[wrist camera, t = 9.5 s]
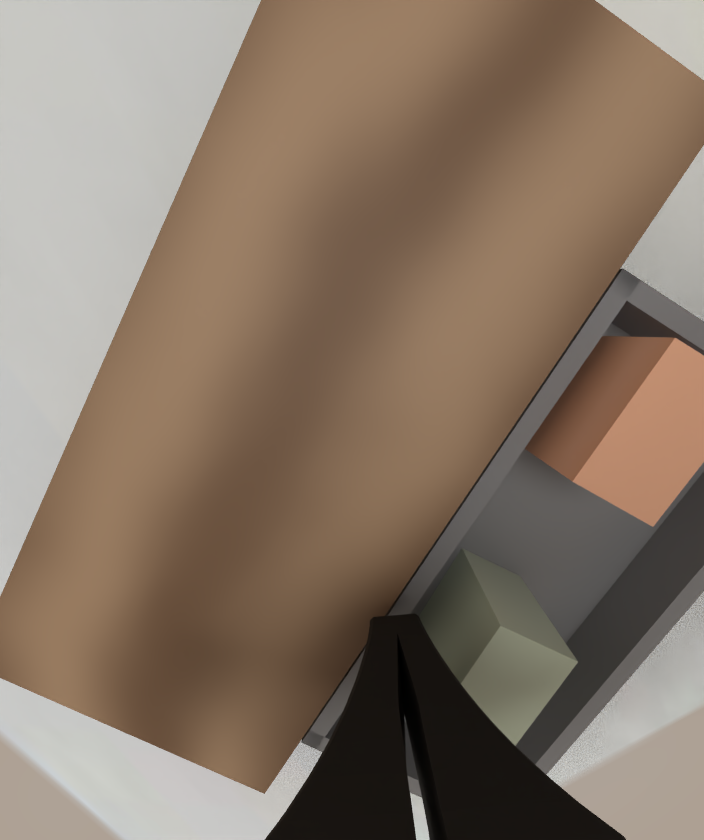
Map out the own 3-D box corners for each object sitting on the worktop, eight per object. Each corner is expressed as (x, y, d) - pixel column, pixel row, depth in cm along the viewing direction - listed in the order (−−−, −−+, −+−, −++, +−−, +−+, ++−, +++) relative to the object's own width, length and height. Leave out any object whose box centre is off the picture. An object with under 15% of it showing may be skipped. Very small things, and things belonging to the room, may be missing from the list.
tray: (765, 403, 14) (851, 418, 12) (476, 762, 17) (497, 832, 15) (573, 280, 13) (622, 268, 11) (309, 681, 17) (301, 742, 14)
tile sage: (461, 548, 15) (520, 576, 15) (408, 632, 16) (465, 657, 16) (500, 625, 11) (578, 662, 11) (427, 732, 12) (501, 764, 12)
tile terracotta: (580, 335, 13) (641, 373, 13) (511, 439, 14) (570, 472, 14) (675, 337, 9) (759, 390, 10) (572, 481, 10) (652, 526, 10)
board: (643, 155, 12) (732, 102, 10) (280, 713, 17) (264, 793, 14) (345, -53, 11) (342, -186, 8) (41, 603, 16) (-30, 664, 13)
